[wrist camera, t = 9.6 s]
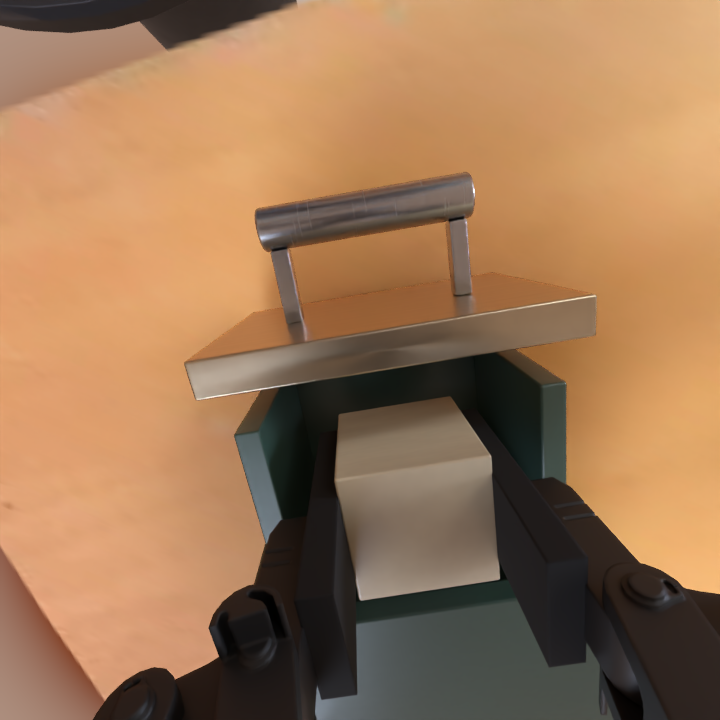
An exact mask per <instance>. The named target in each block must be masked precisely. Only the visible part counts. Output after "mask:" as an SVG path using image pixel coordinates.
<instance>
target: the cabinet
mask: <svg viewBox="0 0 720 720" xmlns="http://www.w3.org/2000/svg"><path fill="white" fill-rule="evenodd" d="M265 549H266V544H265V547H264V551H263V554H262V558H261V561H260V565H259V569H258V572H257V576H256V579H255V583H254V585H255V584H256V581H257V578H258V574H259V571H260V568H261V563H262V560H263V556H264V554H265ZM356 637H357V695H353V696H346V697H339V698H332V699H325V700H321V697H320V693H319V690H318V686H317V693H316V706H315V714H316V718H317V720H614V719H613V717H612V714H611V711H610V709H609V706H608V709H607V716H606V715H601V713H600V707H599V674H600V664H599V663H598V661H597V659H596V657H595V656H594V654H593V652H592V651H591V649H590V647H589V646H588V644H587V643H586V663H579V664H572V665H565V666H558V667H551V668H549V667H548V664H547V662H546V660H545V658H544V656H543V654H542V652H541V650H540V647H539V645H538V643H537V641H536V639H535V637H534V635H533V632H532V630H531V628H530V626H529V624H528V622H527V620H526V617H525V615H524V613H523V611H522V609H521V607H520V605H519V603H518V600H517V598H516V596H515V594H514V592H513V590H512V588H511V585H510V583H509V581H508V579H507V580H500V581H493V582H487V583H480V584H473V585H466V586H460V587H453V588H446V589H439V590H433V591H426V592H419V593H412V594H405V595H399V596H392V597H385V598H378V599H372V600H365V601H358V602H356Z"/></svg>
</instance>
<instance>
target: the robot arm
mask: <svg viewBox="0 0 720 720" xmlns="http://www.w3.org/2000/svg"><path fill="white" fill-rule="evenodd" d="M460 411H461V412H462V414H463V415H464V417H465V418H466V420H467V421H468V423H469V424H470V426H471V427H472V429H473V430H474V431H475V433H476V434H477V436H478V437H479V439H480V440H481V442H482V443H483V445H484V446H485V448H486V449H487V451H488V452H489V453H490V455H491V458H492V484H493V498H494V512H495V526H496V540H497V553H498V560H499V562H500V564H501V566H502V568H503V571H504V573H505V575H506V577H507V579H508V581H509V583H510V585H511V588H512V590H513V592H514V594H515V596H516V598H517V600H518V603H519V605H520V607H521V609H522V611H523V613H524V615H525V617H526V620H527V622H528V624H529V626H530V628H531V630H532V632H533V635H534V637H535V639H536V641H537V643H538V645H539V647H540V650H541V652H542V654H543V656H544V658H545V660H546V662H547V664H548V667H549V668H551V667H558V666H565V665H572V664H579V663H586V643H587V644H588V646H589V647H590V649H591V651H592V652H593V654H594V656H595V657H596V659H597V661H598V663H599V664H600V674H599V707H600V713H601V715H606V716H607V709H608V706H609V709H610V711H611V714H612V717H613V719H614V720H720V594H715V593H707V592H700V591H695V590H690V589H685V588H683V587H682V586H681V585H680V583H679V582H678V581H677V580H675V579H674V578H672V577H671V576H669V575H667V574H666V573H664V572H663V571H661V570H659V569H656V568H653V567H651V566H648V565H646V564H641V563H639V562H638V561H637V559H636V558H635V557H634V556H633V555H632V554H631V553H630V552H629V551H628V549H627V548H626V547H625V546H624V545H623V544H622V543H621V542H620V541H619V540H618V538H617V537H616V536H615V535H614V534H613V533H612V532H611V531H610V530H609V529H608V527H607V526H606V525H605V524H604V523H603V522H602V521H601V520H600V519H599V517H598V516H595V514H594V512H593V511H592V510H591V509H590V508H589V506H588V505H587V504H584V501H583V500H582V499H581V498H580V497H579V495H578V494H577V493H576V492H575V491H574V490H573V489H572V488H571V487H570V486H568V485H566V484H565V483H563V482H561V481H559V480H558V479H556V478H554V477H549V478H542V479H536V480H529V478H528V477H527V476H526V474H525V473H524V472H523V470H522V469H521V468H520V466H519V465H518V464H517V462H516V461H515V460H514V459H513V457H512V456H511V455H510V453H509V452H508V451H507V449H506V448H505V447H504V445H503V444H502V443H501V441H500V440H499V439H498V437H497V436H496V435H495V433H494V432H493V431H492V430H491V428H490V427H489V426H488V424H487V423H486V422H485V420H484V419H483V418H482V416H481V415H480V414H479V412H478V411H477V410H476V408H472V409H466V410H460ZM336 445H337V430H334V431H328V432H321V433H320V436H319V443H318V449H317V455H316V462H315V468H314V474H313V481H312V487H311V493H310V500H309V506H308V512H307V516H304V517H297V518H291V519H284V520H280V521H279V523H278V524H277V525H276V527H275V528H274V529H273V531H272V532H271V533H270V535H269V538H268V542H267V545H266V549H265V554H264V556H263V560H262V563H261V568H260V571H259V574H258V578H257V581H256V584H255V585H249V586H246V587H244V588H242V589H240V590H238V591H236V592H234V593H233V594H232V595H231V596H229V597H228V598H227V599H226V600H224V601H223V602H222V604H221V605H220V606H219V608H218V609H217V610H216V612H215V613H214V614H213V617H212V620H211V622H210V625H209V631H210V633H211V636H212V638H213V641H214V644H215V646H216V649H217V652H218V654H219V657H218V658H217V659H215V660H214V661H212V662H210V663H209V664H207V665H205V666H203V667H201V668H199V669H197V670H195V671H192V672H190V673H188V674H186V675H184V676H182V677H180V678H178V679H176V680H175V679H174V677H173V675H172V674H171V673H170V672H169V671H168V670H167V669H163V668H156V667H154V668H150V669H147V670H144V671H140V672H139V673H137V674H135V675H134V676H132V677H130V678H129V679H127V680H126V681H124V682H123V683H122V684H121V685H120V686H119V687H118V688H117V689H116V690H115V691H114V692H112V693H111V694H110V695H109V697H108V698H107V699H106V701H105V702H104V704H103V705H102V706H101V708H100V709H99V711H98V712H97V713H96V715H95V717H94V719H93V720H317V718H316V714H315V706H316V693H317V686H318V690H319V693H320V697H321V700H325V699H332V698H339V697H346V696H353V695H357V637H356V580H355V575H354V570H353V565H352V561H351V556H350V551H349V547H348V542H347V537H346V532H345V528H344V523H343V518H342V513H341V509H340V504H339V499H338V496H337V492H336V488H335V483H334V477H335V461H336Z"/></svg>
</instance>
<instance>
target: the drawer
mask: <svg viewBox="0 0 720 720" xmlns="http://www.w3.org/2000/svg"><path fill="white" fill-rule="evenodd" d="M474 205H475V189H474V183H473V180H472V177H471V175H470V174H469V173H468V172H463V173H457V174H451V175H446V176H440V177H434V178H428V179H423V180H417V181H411V182H406V183H400V184H394V185H388V186H383V187H377V188H371V189H365V190H360V191H354V192H348V193H342V194H337V195H331V196H325V197H319V198H314V199H308V200H302V201H296V202H291V203H285V204H279V205H274V206H268V207H262V208H258V209H256V210H255V224H256V230H257V234H258V237H259V240H260V243H261V245H262V247H263V249H264V250H265V251H267V252H271V251H272V252H271V257H272V262H273V266H274V271H275V275H276V279H277V284H278V288H279V293H280V297H281V302H282V306H283V307H282V308H276V309H270V310H265V311H259V312H253V313H252V314H251V315H249V316H248V317H246V318H245V319H244V320H242V321H241V322H239V323H238V324H237V325H235V326H234V327H233V328H231V329H230V330H228V331H227V332H226V333H224V334H223V335H221V336H220V337H219V338H217V339H216V340H215V341H213V342H212V343H210V344H209V345H208V346H206V347H205V348H204V349H202V350H201V351H199V352H198V353H197V354H195V355H194V356H192V357H191V358H190V359H188V360H187V361H186V362H185V363H184V365H185V368H186V371H187V375H188V378H189V381H190V384H191V387H192V390H193V393H194V397H195V399H196V400H205V399H211V398H217V397H223V396H229V395H236V394H242V393H248V392H254V391H260V390H261V391H260V393H259V395H258V396H257V398H256V400H255V401H254V403H253V405H252V406H251V408H250V410H249V411H248V413H247V415H246V416H245V418H244V420H243V421H242V423H241V425H240V426H239V428H238V430H237V431H236V433H235V434H234V437H235V441H236V444H237V447H238V451H239V454H240V458H241V461H242V464H243V468H244V471H245V474H246V478H247V481H248V485H249V488H250V491H251V495H252V498H253V502H254V505H255V508H256V512H257V515H258V519H259V522H260V525H261V529H262V532H263V536H264V539H265V542H266V545H267V542H268V538H269V535H270V533H271V532H272V531H273V529H274V528H275V527H276V525H277V524H278V523H279V521H280V520H284V519H291V518H297V517H304V516H307V512H308V506H309V500H310V493H311V487H312V481H313V474H314V468H315V462H316V455H317V449H318V443H319V436H320V433H321V432H328V431H334V430H337V429H338V416H339V414H343V413H349V412H355V411H361V410H368V409H374V408H380V407H386V406H392V405H398V404H405V403H411V402H417V401H423V400H429V399H435V398H442V397H448V396H450V397H451V398H452V399H453V401H454V402H455V404H456V405H457V407H458V408H459V409H460V410H466V409H472V408H476V410H477V411H478V412H479V414H480V415H481V416H482V418H483V419H484V420H485V422H486V423H487V424H488V426H489V427H490V428H491V430H492V431H493V432H494V433H495V435H496V436H497V437H498V439H499V440H500V441H501V443H502V444H503V445H504V447H505V448H506V449H507V451H508V452H509V453H510V455H511V456H512V457H513V459H514V460H515V461H516V462H517V464H518V465H519V466H520V468H521V469H522V470H523V472H524V473H525V474H526V476H527V477H528V478H529V480H536V479H542V478H549V477H554V478H556V479H558V480H559V481H561V482H563V483H565V484H566V382H565V381H563V380H562V379H560V378H559V377H557V376H556V375H554V374H552V373H551V372H549V371H548V370H546V369H545V368H543V367H542V366H540V365H539V364H537V363H535V362H534V361H532V360H531V359H529V358H528V357H526V356H525V355H523V354H522V353H520V352H518V351H517V350H515V349H519V348H525V347H531V346H537V345H544V344H550V343H556V342H562V341H568V340H574V339H580V338H587V337H593V336H595V335H596V305H597V296H596V294H592V293H587V292H582V291H577V290H573V289H568V288H563V287H558V286H554V285H549V284H544V283H540V282H535V281H530V280H525V279H521V278H516V277H511V276H506V275H502V274H497V273H492V272H491V273H485V274H479V275H473V276H471V270H470V257H469V243H468V230H467V220H466V219H465V218H469V217H470V216H471V215H472V213H473V210H474ZM446 221H447V222H446ZM440 222H446V235H447V246H448V257H449V268H450V280H444V281H438V282H432V283H426V284H420V285H414V286H408V287H402V288H396V289H390V290H384V291H378V292H372V293H366V294H360V295H354V296H348V297H342V298H336V299H330V300H324V301H318V302H312V303H306V304H302V303H301V298H300V293H299V288H298V284H297V279H296V274H295V269H294V265H293V260H292V255H291V250H290V249H289V248H294V247H300V246H306V245H312V244H318V243H324V242H330V241H335V240H341V239H347V238H353V237H359V236H365V235H370V234H376V233H382V232H388V231H394V230H400V229H405V228H411V227H417V226H423V225H429V224H435V223H440ZM499 570H500V579H499V580H494V581H500V580H507V577H506V575H505V573H504V571H503V568H502V566H501V564H500V562H499ZM488 582H493V581H488ZM481 583H487V582H481ZM475 584H480V583H475ZM468 585H473V584H468ZM461 586H466V585H461ZM455 587H460V586H455ZM448 588H453V587H448ZM442 589H446V588H442ZM435 590H439V589H435ZM429 591H433V590H429ZM422 592H426V591H422ZM415 593H419V592H415ZM409 594H412V593H409ZM402 595H405V594H402ZM396 596H399V595H396ZM389 597H392V596H389ZM383 598H385V597H383ZM376 599H378V598H376ZM370 600H372V599H370ZM358 601H361V600H360V599H359V596H358V591H357V586H356V602H358ZM363 601H365V600H363Z"/></svg>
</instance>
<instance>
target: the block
mask: <svg viewBox="0 0 720 720" xmlns="http://www.w3.org/2000/svg"><path fill="white" fill-rule="evenodd" d="M334 483H335V488H336V492H337V496H338V499H339V504H340V509H341V513H342V518H343V523H344V528H345V532H346V537H347V542H348V547H349V551H350V556H351V561H352V565H353V570H354V575H355V580H356V586H357V591H358V596H359V599H360V600H361V601H363V600H370V599H376V598H383V597H389V596H396V595H402V594H409V593H415V592H422V591H429V590H435V589H442V588H448V587H455V586H461V585H468V584H475V583H481V582H488V581H494V580H499V579H500V570H499V560H498V553H497V540H496V526H495V512H494V498H493V484H492V458H491V455H490V453H489V452H488V451H487V449H486V448H485V446H484V445H483V443H482V442H481V440H480V439H479V437H478V436H477V434H476V433H475V431H474V430H473V429H472V427H471V426H470V424H469V423H468V421H467V420H466V418H465V417H464V415H463V414H462V412H461V411H460V409H459V408H458V407H457V405H456V404H455V402H454V401H453V399H452V398H451V397H450V396H448V397H442V398H435V399H429V400H423V401H417V402H411V403H405V404H398V405H392V406H386V407H380V408H374V409H368V410H361V411H355V412H349V413H343V414H339V416H338V429H337V445H336V461H335V477H334Z"/></svg>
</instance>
